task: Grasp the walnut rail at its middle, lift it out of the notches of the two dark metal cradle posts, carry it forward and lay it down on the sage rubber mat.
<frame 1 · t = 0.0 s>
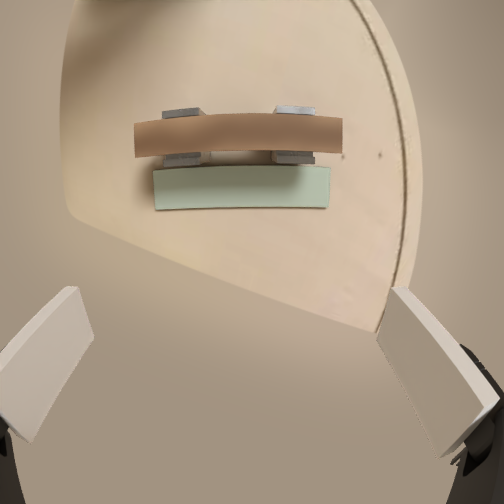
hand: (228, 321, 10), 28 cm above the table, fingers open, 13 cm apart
cradle posts: (240, 138, 33), on the table
rail: (238, 134, 27), point 7 cm above the table, touching cradle posts
mat: (240, 185, 36), on the table
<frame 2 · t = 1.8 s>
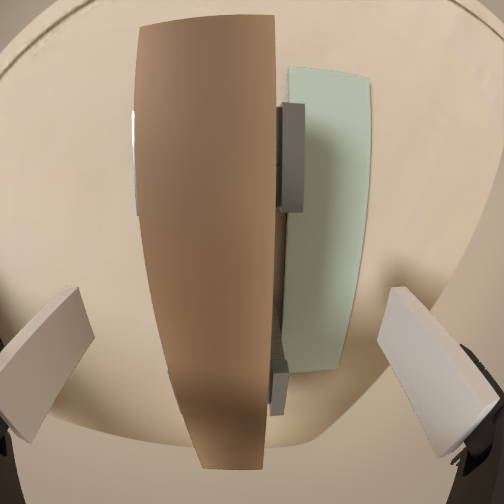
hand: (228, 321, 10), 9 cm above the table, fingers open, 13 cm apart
cradle posts: (231, 244, 19), on the table
rail: (223, 296, 12), point 7 cm above the table, touching cradle posts
mat: (324, 243, 19), on the table
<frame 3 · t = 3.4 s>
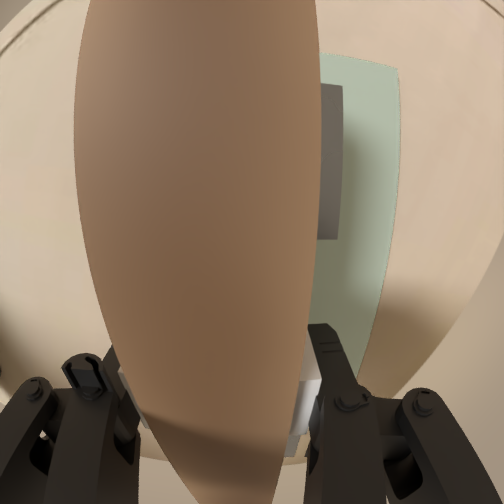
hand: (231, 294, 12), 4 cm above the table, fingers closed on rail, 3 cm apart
cradle posts: (235, 261, 16), on the table
rail: (226, 339, 9), point 7 cm above the table, touching cradle posts, gripper
mat: (344, 260, 16), on the table
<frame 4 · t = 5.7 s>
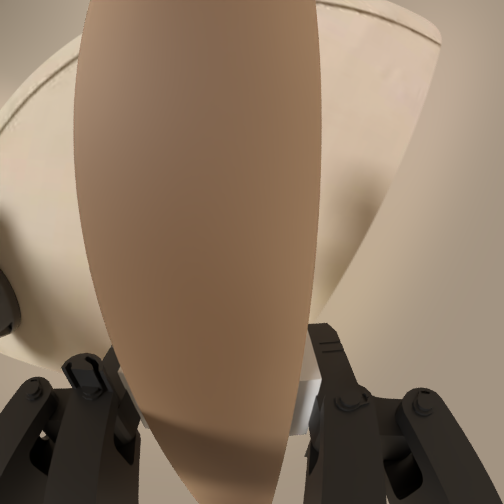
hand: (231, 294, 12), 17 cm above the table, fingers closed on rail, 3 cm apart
rail: (226, 339, 9), point 20 cm above the table, touching gripper
when the fingers open (1 cm above the table, at t = 8.3 s): rail drops 2 cm, point 1 cm above the table.
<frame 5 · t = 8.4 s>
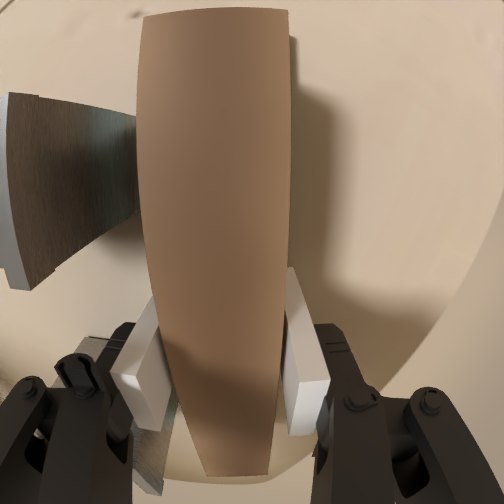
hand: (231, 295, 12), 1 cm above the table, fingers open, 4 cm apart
cradle posts: (106, 283, 13), on the table
rail: (225, 302, 12), point 1 cm above the table, touching gripper
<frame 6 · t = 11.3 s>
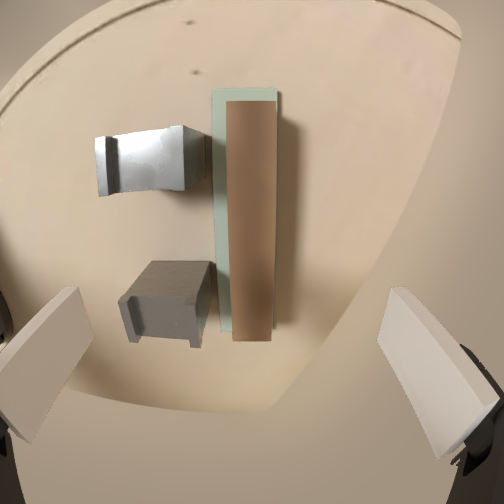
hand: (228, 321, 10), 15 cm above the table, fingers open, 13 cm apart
cradle posts: (175, 221, 25), on the table
rail: (251, 222, 24), point 1 cm above the table, touching mat
mat: (245, 220, 25), on the table
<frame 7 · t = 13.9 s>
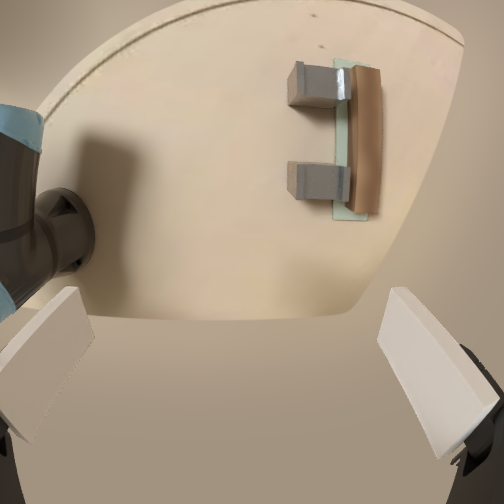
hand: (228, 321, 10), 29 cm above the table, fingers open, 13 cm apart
cradle posts: (309, 134, 34), on the table
rail: (358, 138, 33), point 1 cm above the table, touching mat
mat: (353, 138, 34), on the table
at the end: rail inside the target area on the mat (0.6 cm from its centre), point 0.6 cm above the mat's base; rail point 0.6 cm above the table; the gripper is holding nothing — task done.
